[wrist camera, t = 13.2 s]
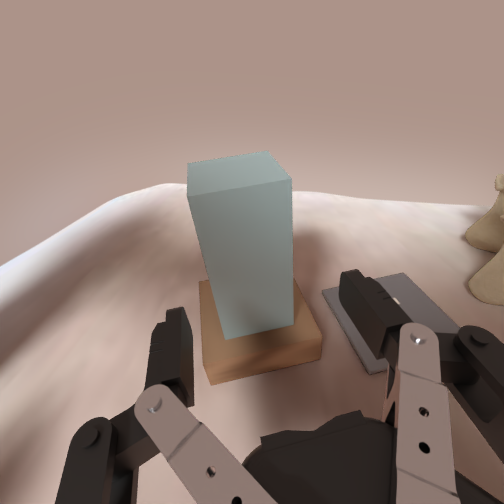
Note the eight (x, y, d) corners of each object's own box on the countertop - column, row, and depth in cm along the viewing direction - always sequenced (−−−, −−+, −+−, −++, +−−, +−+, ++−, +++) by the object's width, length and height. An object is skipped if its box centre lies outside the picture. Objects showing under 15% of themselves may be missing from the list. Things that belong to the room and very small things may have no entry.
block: (224, 340, 21) (187, 196, 14) (218, 291, 25) (187, 163, 18) (293, 324, 21) (291, 178, 14) (275, 279, 26) (267, 150, 18)
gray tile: (369, 374, 20) (369, 371, 20) (321, 293, 28) (322, 290, 27) (475, 347, 21) (477, 344, 21) (402, 275, 28) (403, 272, 28)
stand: (210, 385, 21) (203, 364, 19) (205, 302, 28) (199, 281, 26) (320, 359, 22) (322, 336, 20) (287, 285, 29) (287, 263, 27)
